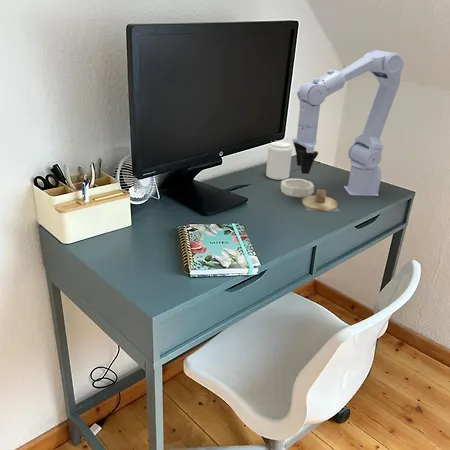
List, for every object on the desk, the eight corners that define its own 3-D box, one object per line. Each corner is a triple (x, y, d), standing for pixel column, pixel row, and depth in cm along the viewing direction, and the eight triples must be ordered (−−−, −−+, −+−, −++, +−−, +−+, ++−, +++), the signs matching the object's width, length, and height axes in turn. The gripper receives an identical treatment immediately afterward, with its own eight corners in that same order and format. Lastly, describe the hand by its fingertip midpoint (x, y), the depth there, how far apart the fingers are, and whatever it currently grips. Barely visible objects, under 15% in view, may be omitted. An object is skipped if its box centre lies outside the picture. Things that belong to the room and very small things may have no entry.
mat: (331, 200, 156) (331, 198, 156) (340, 212, 147) (340, 211, 146) (300, 199, 155) (300, 198, 155) (306, 211, 146) (306, 210, 146)
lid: (332, 198, 156) (334, 185, 154) (341, 211, 146) (343, 197, 144) (299, 197, 155) (301, 184, 153) (306, 210, 146) (307, 196, 144)
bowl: (308, 187, 165) (309, 179, 164) (315, 198, 156) (316, 189, 155) (278, 186, 165) (279, 178, 163) (283, 197, 156) (284, 188, 154)
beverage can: (290, 181, 170) (293, 147, 165) (266, 180, 170) (269, 146, 165) (287, 173, 178) (291, 141, 173) (265, 172, 178) (268, 139, 173)
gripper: (290, 119, 152) (286, 161, 158) (298, 130, 139) (293, 176, 145) (313, 119, 153) (308, 162, 158) (323, 131, 140) (317, 177, 145)
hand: (302, 169), depth 152 cm, fingers open, 7 cm apart
